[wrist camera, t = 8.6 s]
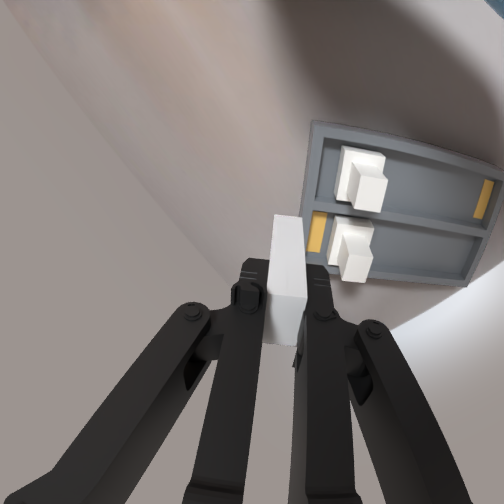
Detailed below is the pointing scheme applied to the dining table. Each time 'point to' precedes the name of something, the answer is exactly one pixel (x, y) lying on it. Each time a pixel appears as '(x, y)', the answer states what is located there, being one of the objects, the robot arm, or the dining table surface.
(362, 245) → the tab
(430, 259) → the grey divided tray
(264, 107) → the dining table surface
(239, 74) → the dining table surface
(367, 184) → the tab
